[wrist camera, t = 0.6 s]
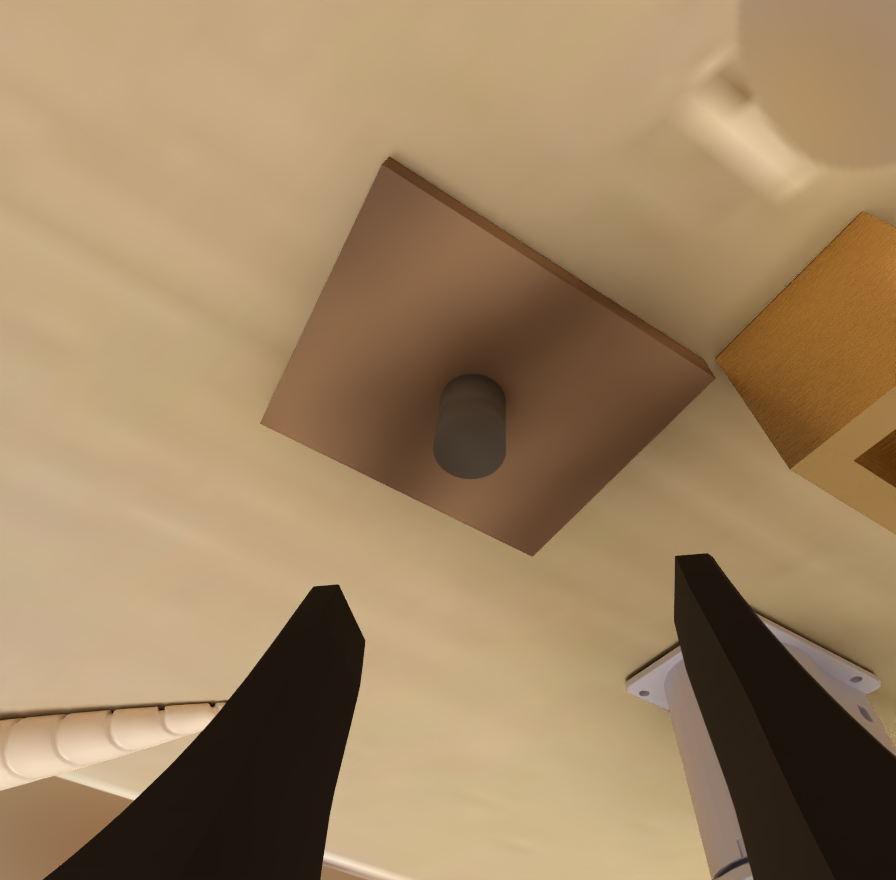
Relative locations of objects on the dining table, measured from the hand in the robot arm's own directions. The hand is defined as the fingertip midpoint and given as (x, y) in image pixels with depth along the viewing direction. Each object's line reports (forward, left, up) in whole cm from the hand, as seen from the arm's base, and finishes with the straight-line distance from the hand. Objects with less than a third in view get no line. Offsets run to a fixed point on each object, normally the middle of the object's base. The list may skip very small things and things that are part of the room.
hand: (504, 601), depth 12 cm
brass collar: (-8, -7, -10) cm, 15 cm away
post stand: (+1, +1, -10) cm, 10 cm away
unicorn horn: (+9, +36, -10) cm, 38 cm away
